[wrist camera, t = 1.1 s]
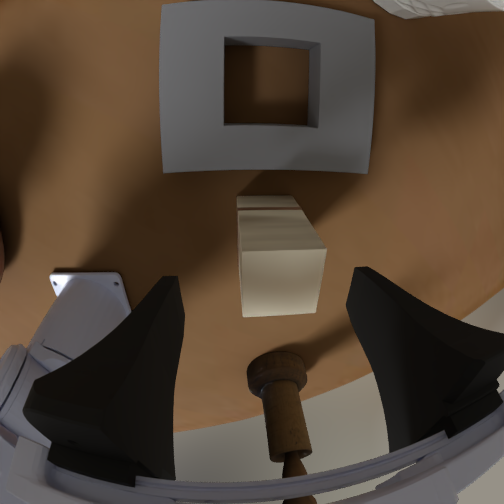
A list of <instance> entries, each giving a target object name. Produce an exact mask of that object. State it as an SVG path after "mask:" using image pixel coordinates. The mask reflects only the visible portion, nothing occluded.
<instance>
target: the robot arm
mask: <svg viewBox="0 0 504 504" xmlns="http://www.w3.org/2000/svg"><path fill="white" fill-rule="evenodd" d="M50 280H51V283H52V285H53V288H54V290H55V293H56V295H57V298H56V300H55V302H54V303H53V305H52V306H51V308H50V309H49V311H48V312H47V314H46V316H45V317H44V319H43V321H42V322H41V324H40V326H39V327H38V329H37V331H36V332H35V334H34V336H33V338H32V339H31V341H30V343H29V345H28V347H27V348H25V347H24V346H23V345H22V344H18V345H11V346H10V347H9V348H8V349H7V350H6V352H5V353H4V354H3V356H2V357H1V359H0V504H191V503H214V504H215V503H216V504H228V503H253V502H265V501H275V500H284V499H291V498H298V497H304V496H309V495H315V494H320V493H324V492H329V491H333V490H337V489H341V488H345V487H348V486H352V485H356V484H359V483H362V482H366V481H368V480H372V479H375V478H378V477H381V476H384V475H386V474H389V473H392V472H394V471H397V470H400V469H402V468H404V467H407V466H409V465H412V464H414V463H416V462H417V463H416V464H414V465H412V466H410V467H408V468H406V469H404V470H402V471H400V472H398V473H397V474H396V475H395V476H393V477H392V478H390V479H389V480H387V481H385V482H383V483H381V484H379V485H377V486H376V488H375V489H376V490H374V491H370V492H367V493H364V494H361V495H358V496H354V497H351V498H347V499H343V500H339V501H336V502H332V503H328V504H456V503H457V502H458V500H459V499H458V496H457V494H458V493H460V492H461V491H462V490H464V489H465V488H466V487H468V486H469V485H470V484H472V483H473V482H474V481H476V480H477V479H478V478H479V477H481V476H482V475H483V474H484V473H485V472H487V471H488V470H489V469H490V468H491V467H492V466H493V465H495V464H496V463H497V462H498V461H499V460H500V459H501V458H502V457H503V456H504V390H503V391H502V392H501V393H498V391H497V390H496V389H497V388H498V387H499V383H498V381H497V378H498V377H499V376H500V374H501V373H502V372H503V371H504V334H503V333H499V332H494V331H490V330H486V329H483V328H479V327H476V326H473V325H470V324H468V323H465V322H462V321H460V320H458V319H455V318H453V317H451V316H448V315H446V314H444V313H442V312H440V311H438V310H436V309H434V308H433V307H431V306H429V305H427V304H425V303H424V302H422V301H421V300H419V299H417V298H416V297H414V296H412V295H411V294H409V293H408V292H406V291H405V290H403V289H402V288H400V287H399V286H397V285H396V284H394V283H393V282H391V281H390V280H388V279H387V278H385V277H384V276H382V275H381V274H379V273H378V272H376V271H375V270H373V269H371V268H369V267H355V268H354V273H353V277H352V281H351V286H350V290H349V294H348V298H347V302H346V308H347V311H348V314H349V317H350V320H351V323H352V326H353V328H354V330H355V333H356V335H357V337H358V339H359V341H360V343H361V345H362V347H363V350H364V352H365V354H366V356H367V358H368V360H369V362H370V365H371V367H372V370H373V372H374V375H375V379H376V382H377V385H378V389H379V392H380V396H381V401H382V404H383V409H384V414H385V420H386V425H387V433H388V441H389V454H386V455H383V456H380V457H377V458H374V459H370V460H367V461H364V462H360V463H357V464H353V465H349V466H346V467H342V468H337V469H333V470H329V471H324V472H319V473H314V474H309V475H303V476H296V477H289V478H282V479H273V480H263V481H250V482H219V483H218V482H188V481H175V480H176V477H175V465H174V449H173V448H174V447H173V405H174V388H175V380H176V375H177V369H178V364H179V358H180V353H181V347H182V342H183V337H184V322H185V313H184V308H183V303H182V298H181V292H180V287H179V281H178V276H163V277H162V278H161V279H160V280H159V281H158V282H157V283H156V284H155V286H154V287H153V288H152V289H151V290H150V292H149V293H148V294H147V295H146V296H145V297H144V299H143V300H142V301H141V302H140V303H139V304H138V305H137V306H136V308H135V309H134V310H133V311H132V312H131V308H130V305H129V302H128V299H127V296H126V292H125V289H124V285H123V282H122V278H121V276H120V274H118V273H116V272H89V273H51V275H50ZM115 282H118V283H119V284H117V283H115ZM176 501H177V502H176ZM183 502H190V503H183Z"/></svg>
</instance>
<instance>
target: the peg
mask: <svg viewBox="0 0 504 504" xmlns="http://www.w3.org/2000/svg"><path fill="white" fill-rule="evenodd" d="M302 210H303V209H302V208H301V207H299V205H298V204H297V202H296V201H295V199H294V198H293V196H237V249H238V267H239V276H240V289H241V301H242V314H243V317H257V316H276V315H291V314H304V313H315V312H316V307H317V302H318V297H319V292H320V287H321V281H322V275H323V270H324V264H325V258H326V251H327V248H326V247H325V245H324V244H323V242H322V240H321V239H320V237H319V236H318V234H317V233H316V231H315V230H314V228H313V226H312V225H311V223H310V222H309V220H308V219H307V217H306V216H305V214H304V213H303V211H302Z"/></svg>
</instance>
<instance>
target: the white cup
mask: <svg viewBox="0 0 504 504" xmlns="http://www.w3.org/2000/svg"><path fill="white" fill-rule="evenodd" d="M373 1H374V2H375V3H376V4H378V5H379V6H381V7H382V8H383V9H385V10H386V11H387V12H389V13H390V14H393V15H396V16H398V17H401V18H404V19H417V18H423V17H428V16H433V17H434V16H442V15H453V14H462V13H473V12H492V11H504V0H373Z"/></svg>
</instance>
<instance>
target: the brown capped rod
mask: <svg viewBox="0 0 504 504" xmlns="http://www.w3.org/2000/svg"><path fill="white" fill-rule="evenodd" d="M247 379H248V387H249V390H250V392H251V393H252V394H254V395H255V396H257V397H259V398H261V399H262V402H263V409H264V415H265V422H266V430H267V438H268V446H269V455H270V460H271V461H273V462H284V466H283V473H282V478H289V477H296V476H303V475H307V472H306V470H305V467H304V465H303V464H302V462H301V460H300V459H301V458H304V457H306V456H308V455H310V454H311V453H312V448H311V444H310V440H309V436H308V431H307V427H306V423H305V419H304V414H303V410H302V406H301V401H300V396H299V392H300V391H301V389H303V388H304V386H305V385H306V383H307V374H306V371H305V366H304V363H303V361H302V359H301V358H300V357H299V356H297V355H295V354H293V353H289V352H273V353H268V354H265V355H262V356H260V357H258V358H256V359H255V360H253V361H252V362H251V363H250V364H249V366H248V368H247ZM282 504H317V502H316V499H315V498H314V497H313V496H312V495H309V496H304V497H298V498H291V499H284V501H283V503H282Z"/></svg>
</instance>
